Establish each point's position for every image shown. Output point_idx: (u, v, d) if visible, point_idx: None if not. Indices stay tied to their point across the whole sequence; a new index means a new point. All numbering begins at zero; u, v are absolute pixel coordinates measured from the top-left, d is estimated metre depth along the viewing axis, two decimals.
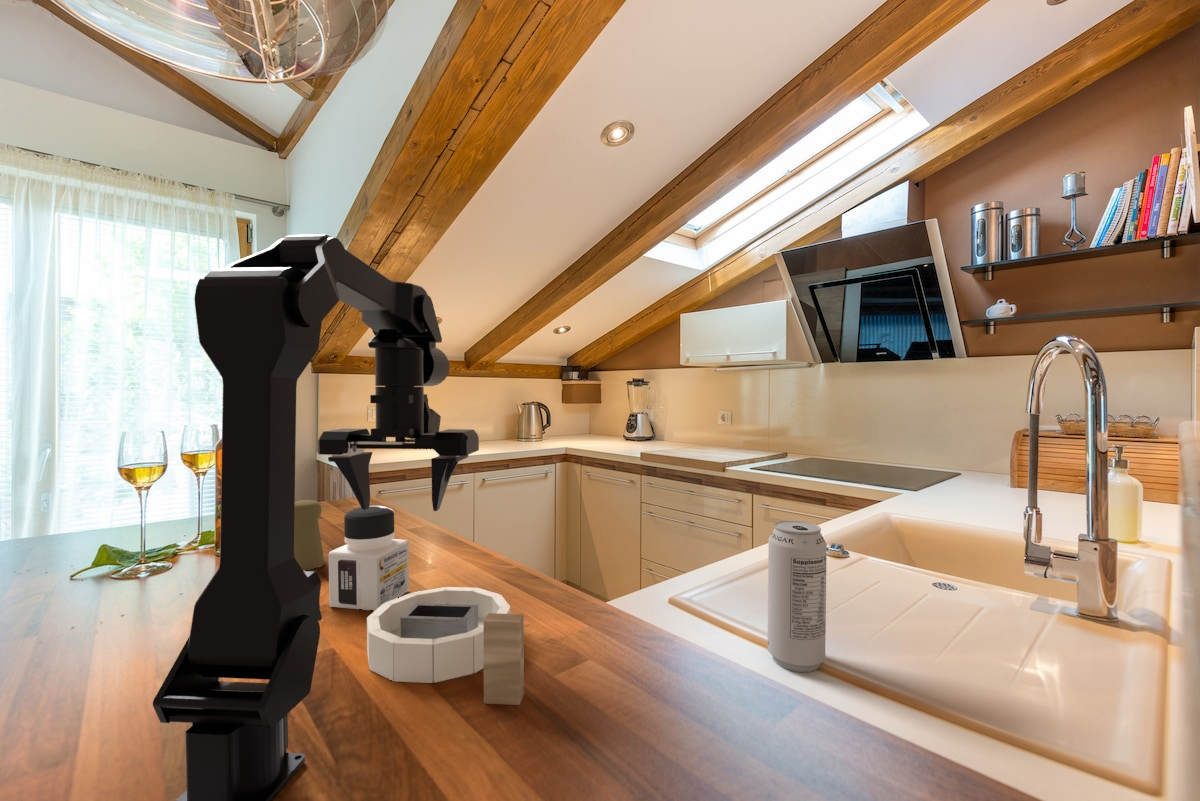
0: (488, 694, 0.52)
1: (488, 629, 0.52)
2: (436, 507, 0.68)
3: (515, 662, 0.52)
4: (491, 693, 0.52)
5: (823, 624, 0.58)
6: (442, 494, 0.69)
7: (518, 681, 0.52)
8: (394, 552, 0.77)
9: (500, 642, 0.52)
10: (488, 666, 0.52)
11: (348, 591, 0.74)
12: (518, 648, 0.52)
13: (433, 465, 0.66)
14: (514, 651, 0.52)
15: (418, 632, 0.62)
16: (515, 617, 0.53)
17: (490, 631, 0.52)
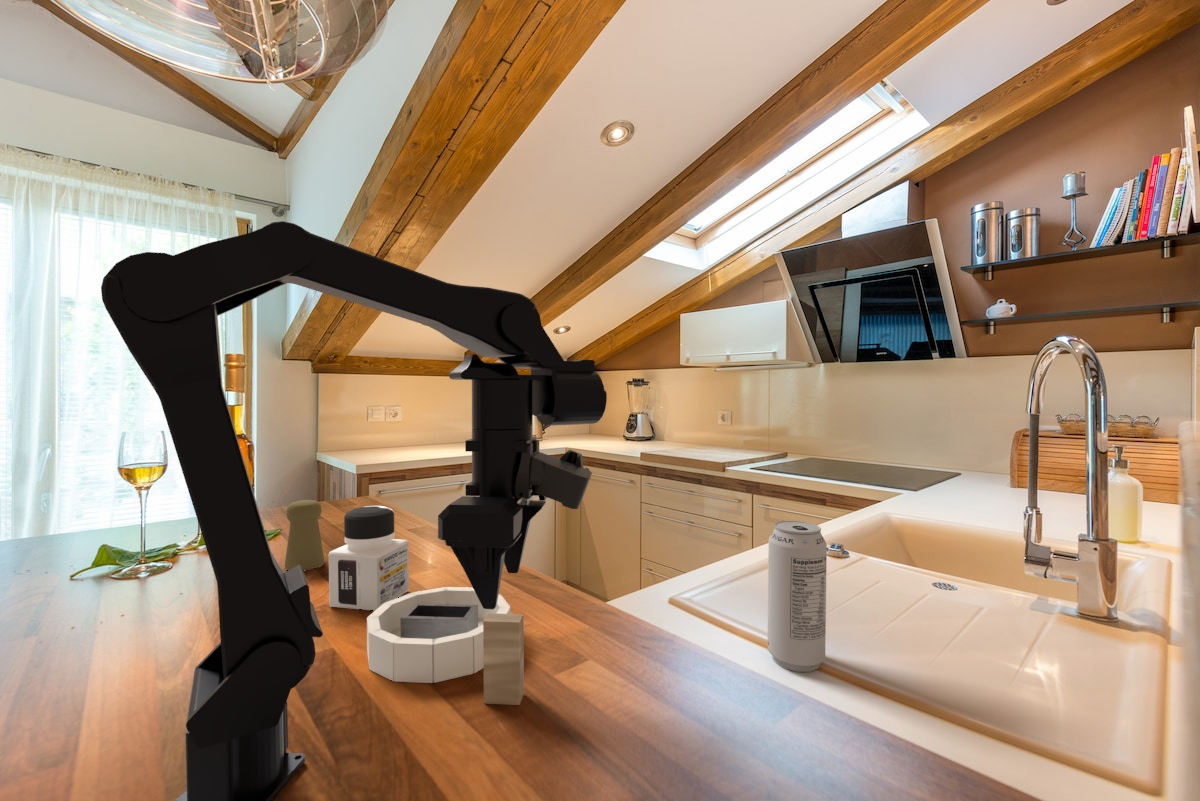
0: (488, 694, 0.52)
1: (488, 629, 0.52)
2: (481, 603, 0.48)
3: (515, 662, 0.52)
4: (491, 693, 0.52)
5: (823, 624, 0.58)
6: (487, 589, 0.47)
7: (518, 681, 0.52)
8: (394, 552, 0.77)
9: (500, 642, 0.52)
10: (488, 666, 0.52)
11: (348, 591, 0.74)
12: (518, 648, 0.52)
13: None
14: (514, 651, 0.52)
15: (418, 632, 0.62)
16: (515, 617, 0.53)
17: (490, 631, 0.52)
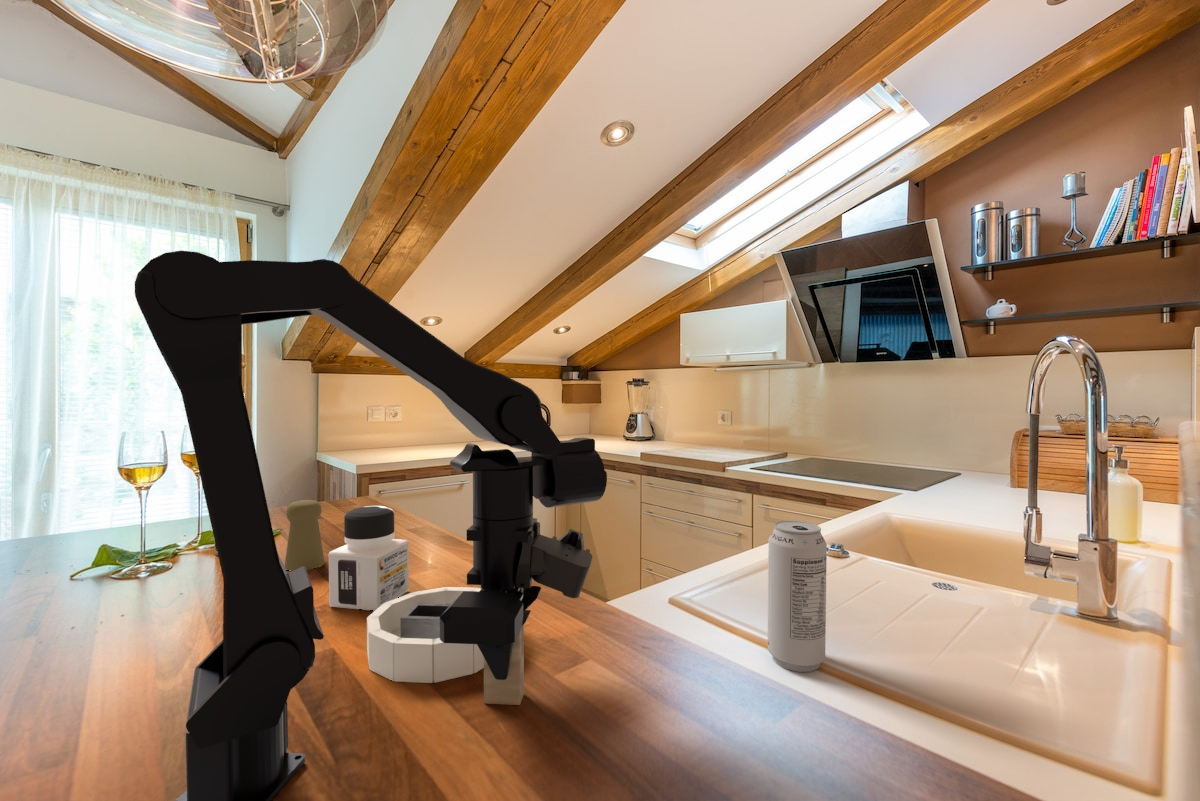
0: (488, 694, 0.52)
1: None
2: (493, 674, 0.52)
3: (515, 662, 0.52)
4: (491, 693, 0.52)
5: (823, 624, 0.58)
6: (499, 662, 0.51)
7: (518, 681, 0.52)
8: (394, 552, 0.77)
9: None
10: (488, 666, 0.52)
11: (348, 591, 0.74)
12: (518, 648, 0.52)
13: None
14: (514, 651, 0.52)
15: (418, 632, 0.62)
16: None
17: None
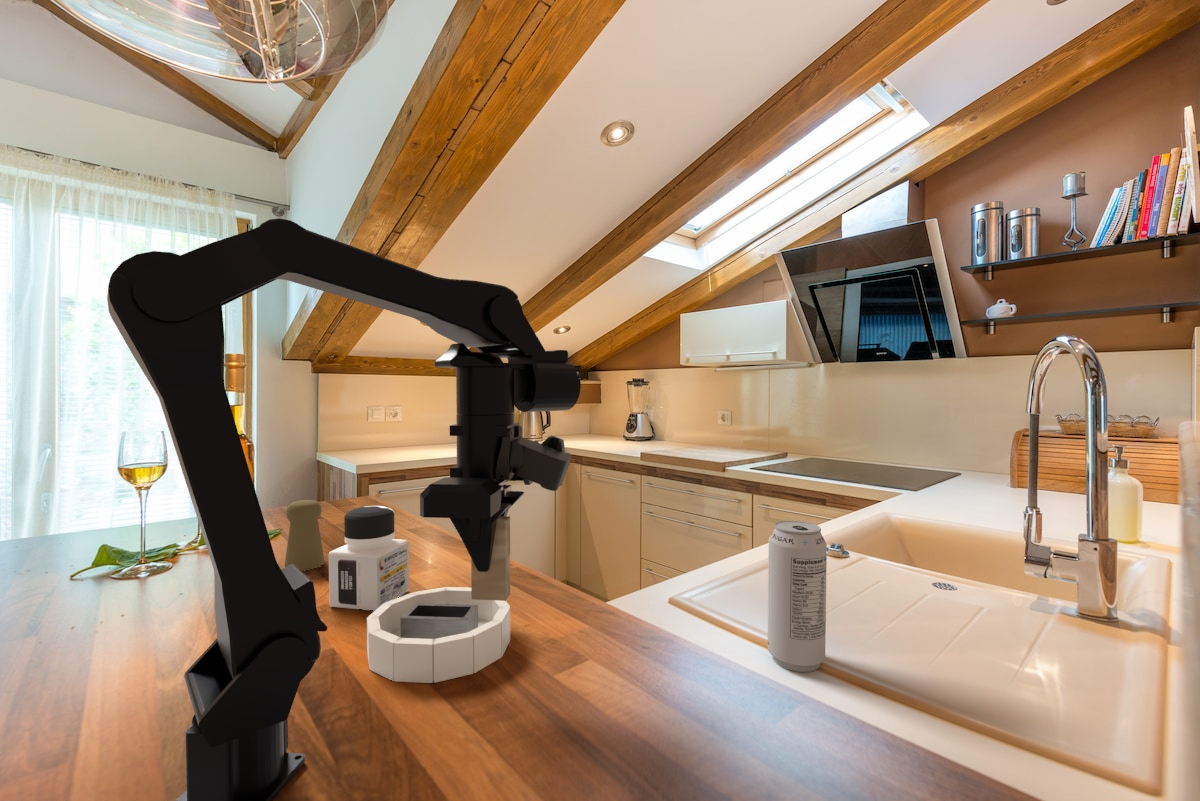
0: (475, 590, 0.54)
1: None
2: (476, 566, 0.54)
3: (501, 559, 0.54)
4: (478, 589, 0.54)
5: (823, 624, 0.58)
6: (481, 553, 0.53)
7: (504, 578, 0.54)
8: (394, 552, 0.77)
9: None
10: None
11: (348, 591, 0.74)
12: (504, 546, 0.54)
13: None
14: (500, 549, 0.54)
15: (418, 632, 0.62)
16: (501, 518, 0.55)
17: None
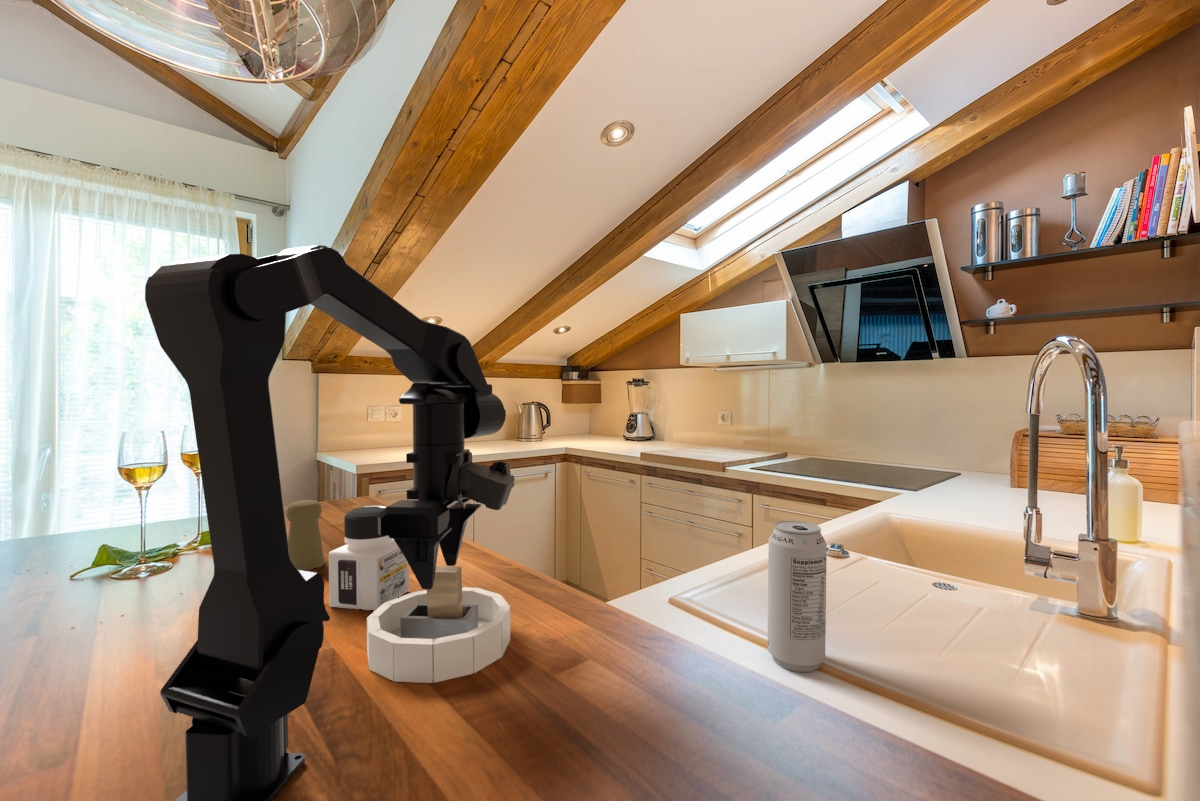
0: None
1: None
2: (420, 584, 0.59)
3: (453, 605, 0.62)
4: None
5: (823, 624, 0.58)
6: (424, 572, 0.59)
7: None
8: (394, 552, 0.77)
9: (440, 588, 0.62)
10: (431, 609, 0.63)
11: (348, 591, 0.74)
12: (455, 594, 0.62)
13: None
14: (452, 596, 0.62)
15: (418, 632, 0.62)
16: (453, 569, 0.63)
17: None
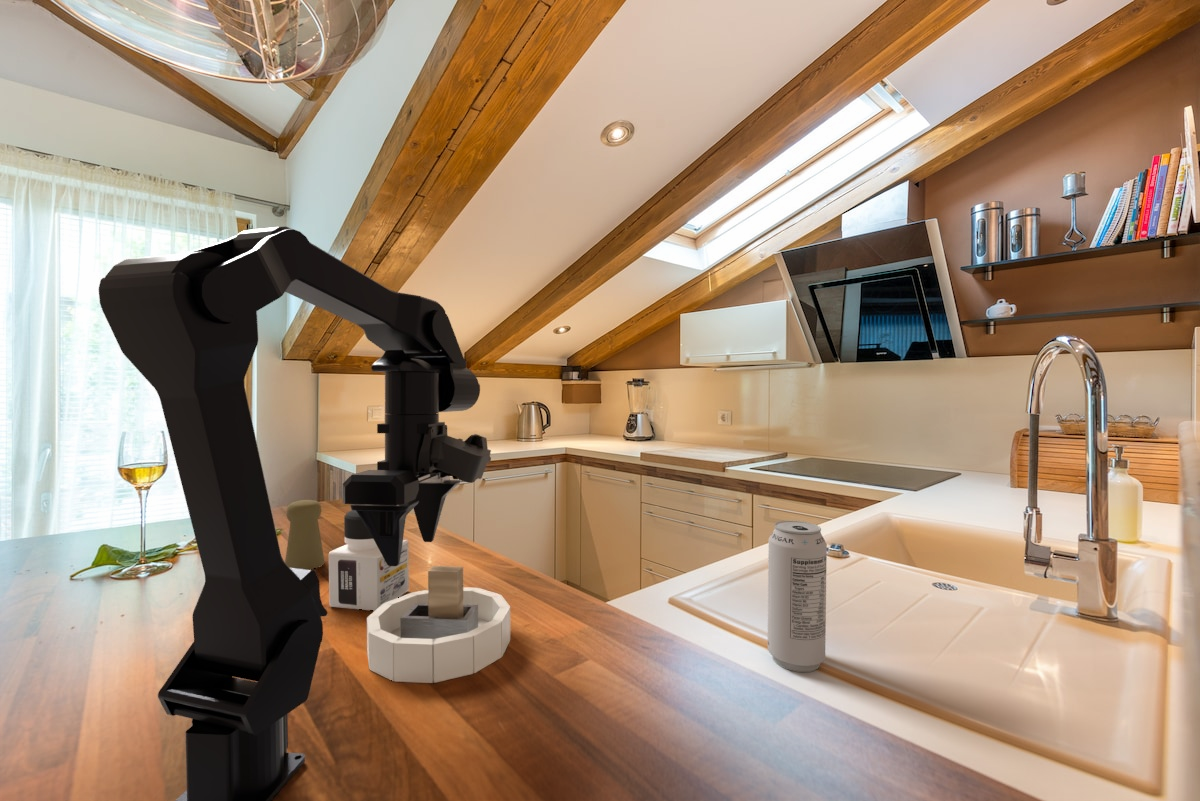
0: None
1: (432, 578, 0.63)
2: (386, 561, 0.56)
3: (454, 605, 0.62)
4: None
5: (823, 624, 0.58)
6: (390, 548, 0.56)
7: None
8: None
9: (441, 588, 0.62)
10: (432, 608, 0.63)
11: (348, 591, 0.74)
12: (456, 594, 0.62)
13: None
14: (453, 596, 0.62)
15: (418, 632, 0.62)
16: (455, 569, 0.63)
17: (433, 579, 0.63)
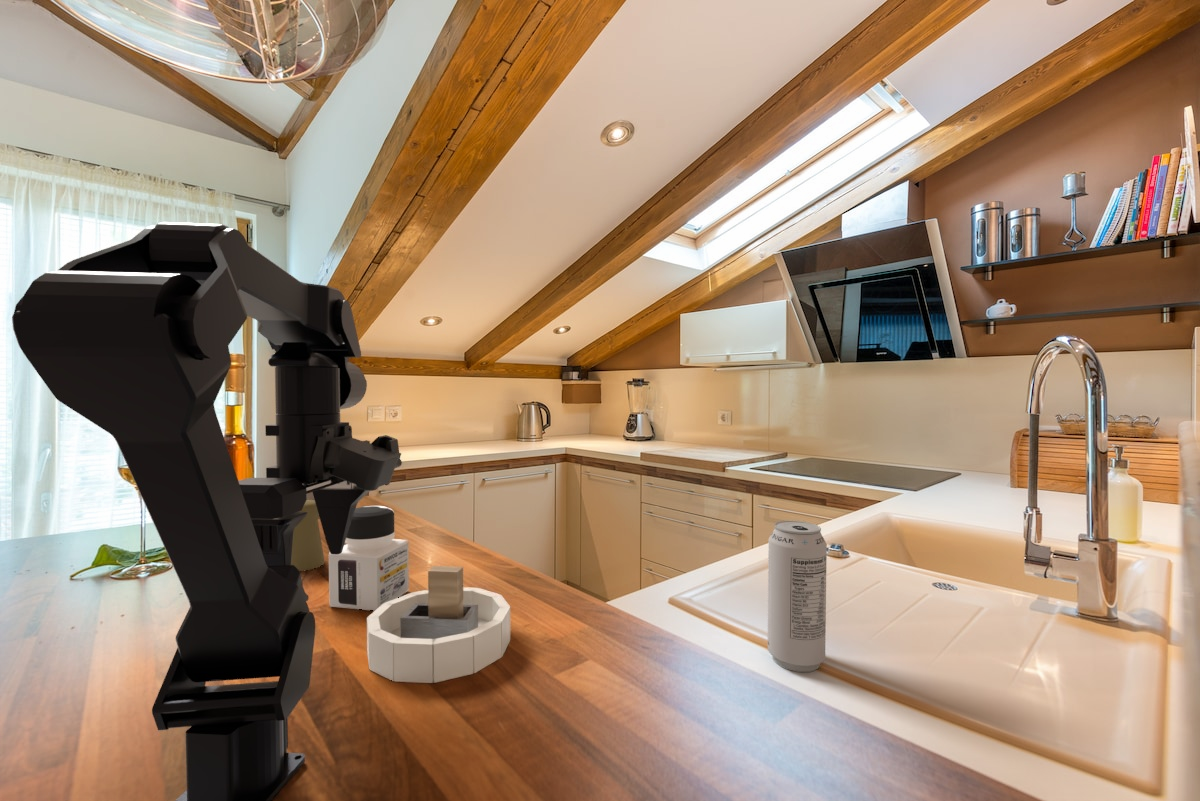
0: None
1: (432, 578, 0.63)
2: None
3: (454, 605, 0.62)
4: None
5: (823, 624, 0.58)
6: (275, 565, 0.50)
7: None
8: (394, 552, 0.77)
9: (441, 588, 0.62)
10: (432, 608, 0.63)
11: (348, 591, 0.74)
12: (456, 594, 0.62)
13: None
14: (453, 596, 0.62)
15: (418, 632, 0.62)
16: (455, 569, 0.63)
17: (433, 579, 0.63)
